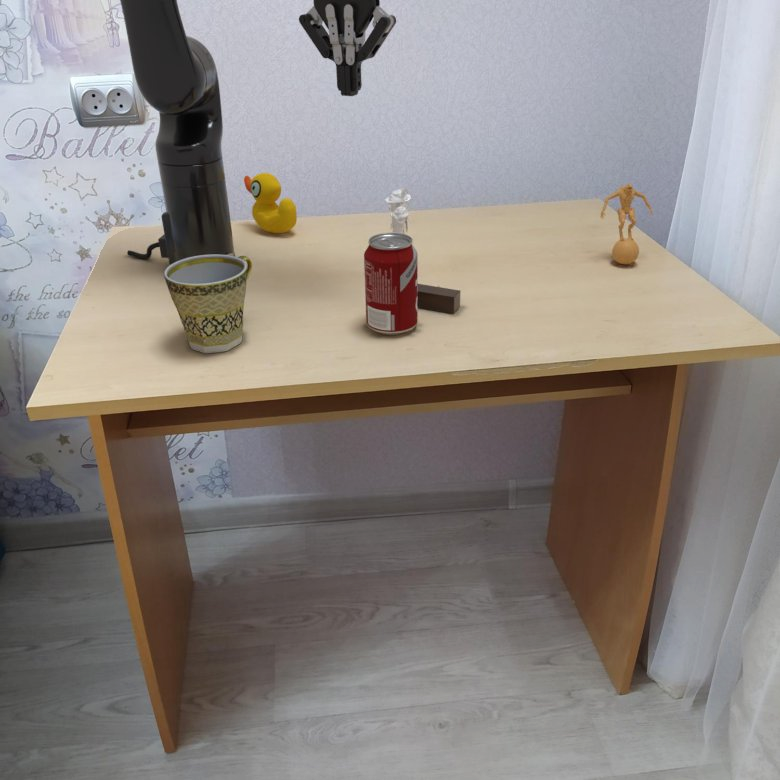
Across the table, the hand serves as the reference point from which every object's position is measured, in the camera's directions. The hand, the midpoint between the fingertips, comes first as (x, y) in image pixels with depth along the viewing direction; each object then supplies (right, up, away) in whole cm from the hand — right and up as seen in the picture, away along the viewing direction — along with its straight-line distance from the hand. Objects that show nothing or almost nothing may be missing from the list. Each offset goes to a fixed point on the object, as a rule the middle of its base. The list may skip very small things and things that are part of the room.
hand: (349, 94), depth 99 cm
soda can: (+5, -30, +3) cm, 31 cm away
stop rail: (+9, -26, +9) cm, 29 cm away
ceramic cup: (-16, -31, +1) cm, 35 cm away
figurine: (+42, -18, +21) cm, 50 cm away
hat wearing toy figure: (+7, -17, +24) cm, 30 cm away
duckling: (-15, -10, +36) cm, 41 cm away
